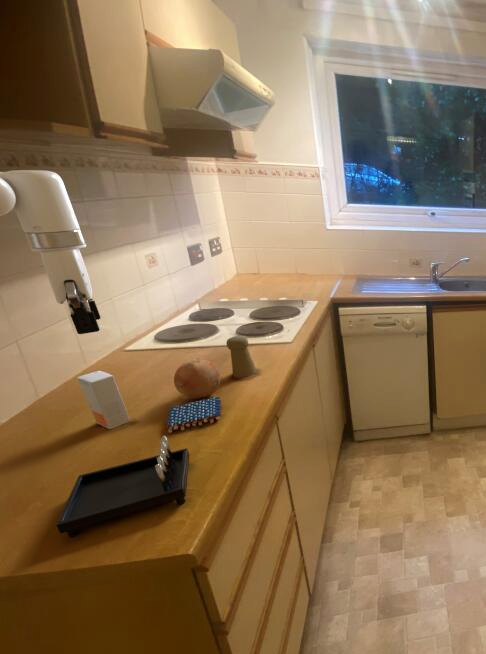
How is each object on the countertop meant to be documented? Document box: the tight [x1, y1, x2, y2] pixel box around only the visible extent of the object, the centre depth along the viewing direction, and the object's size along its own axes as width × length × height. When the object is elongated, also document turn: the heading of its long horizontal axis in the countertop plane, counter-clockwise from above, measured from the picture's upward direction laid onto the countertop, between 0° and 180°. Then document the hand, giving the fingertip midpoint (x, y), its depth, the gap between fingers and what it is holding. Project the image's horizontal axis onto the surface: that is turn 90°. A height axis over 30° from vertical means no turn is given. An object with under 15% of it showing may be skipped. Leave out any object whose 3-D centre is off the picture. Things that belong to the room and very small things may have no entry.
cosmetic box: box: [76, 370, 131, 430], centre depth 98 cm, size 6×4×12 cm
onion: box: [173, 358, 221, 400], centre depth 110 cm, size 10×10×10 cm
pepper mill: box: [226, 335, 258, 379], centre depth 123 cm, size 6×6×11 cm
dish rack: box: [55, 435, 190, 538], centre depth 76 cm, size 16×14×8 cm
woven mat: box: [165, 396, 222, 434], centre depth 102 cm, size 10×11×2 cm
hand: (90, 326), depth 88 cm, fingers open, 9 cm apart
